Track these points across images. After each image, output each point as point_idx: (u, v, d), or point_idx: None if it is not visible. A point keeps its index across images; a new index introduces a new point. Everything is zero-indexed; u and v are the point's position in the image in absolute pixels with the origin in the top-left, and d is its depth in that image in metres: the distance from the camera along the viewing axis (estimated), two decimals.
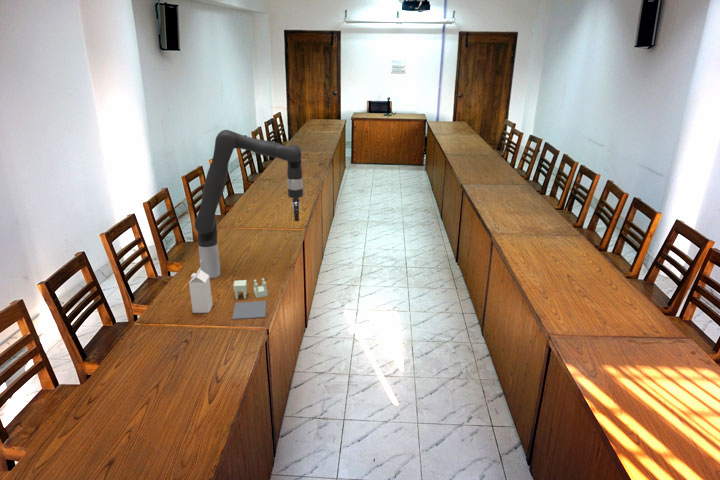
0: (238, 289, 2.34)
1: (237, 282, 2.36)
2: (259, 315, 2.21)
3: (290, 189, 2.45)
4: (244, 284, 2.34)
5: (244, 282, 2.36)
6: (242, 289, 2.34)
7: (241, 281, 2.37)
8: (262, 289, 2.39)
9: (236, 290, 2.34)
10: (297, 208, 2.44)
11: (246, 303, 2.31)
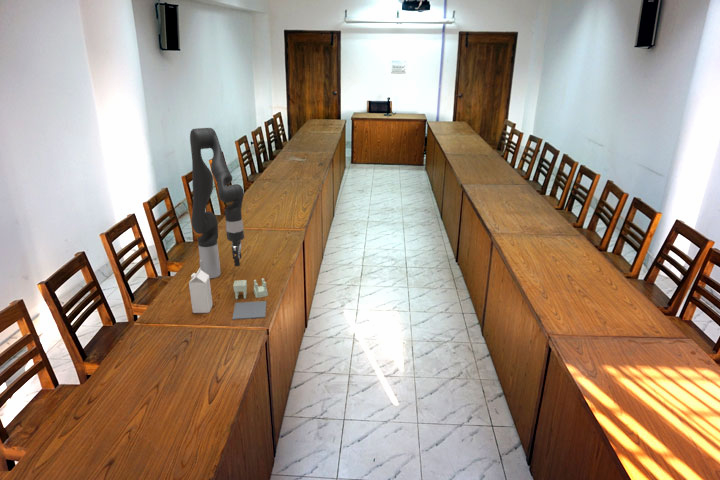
0: (238, 289, 2.34)
1: (237, 282, 2.36)
2: (259, 315, 2.21)
3: (228, 232, 2.23)
4: (244, 284, 2.34)
5: (244, 282, 2.36)
6: (242, 289, 2.34)
7: (241, 281, 2.37)
8: (262, 289, 2.39)
9: (236, 290, 2.34)
10: (236, 253, 2.23)
11: (246, 303, 2.31)
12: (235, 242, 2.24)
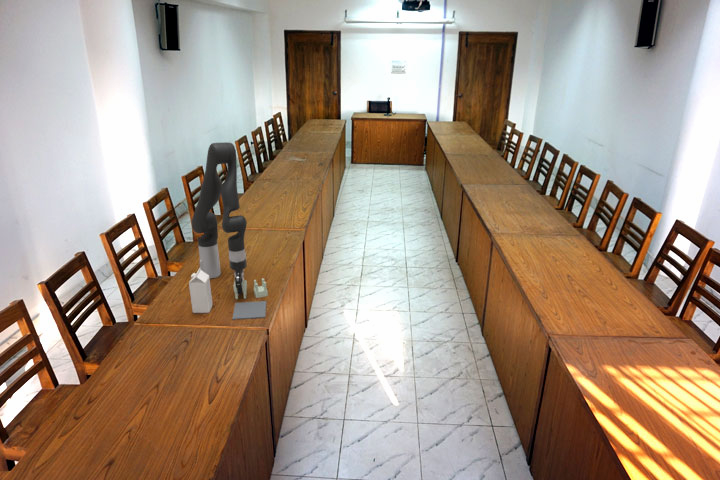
0: None
1: None
2: (259, 315, 2.21)
3: (231, 261, 2.28)
4: (244, 284, 2.34)
5: (244, 282, 2.36)
6: (242, 289, 2.34)
7: None
8: (262, 289, 2.39)
9: (236, 290, 2.34)
10: (239, 283, 2.29)
11: (246, 303, 2.31)
12: (238, 271, 2.29)
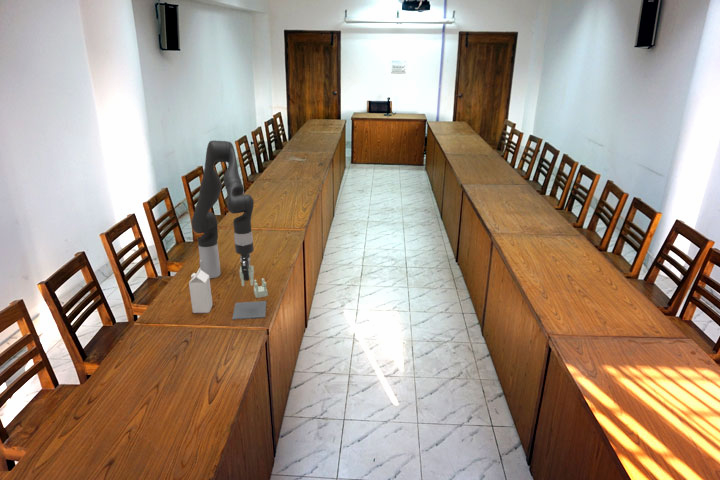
0: None
1: None
2: (259, 315, 2.21)
3: (237, 244, 2.11)
4: (251, 270, 2.17)
5: (251, 268, 2.19)
6: (249, 275, 2.17)
7: None
8: (262, 289, 2.39)
9: (242, 276, 2.17)
10: (245, 268, 2.11)
11: (246, 303, 2.31)
12: (244, 255, 2.12)
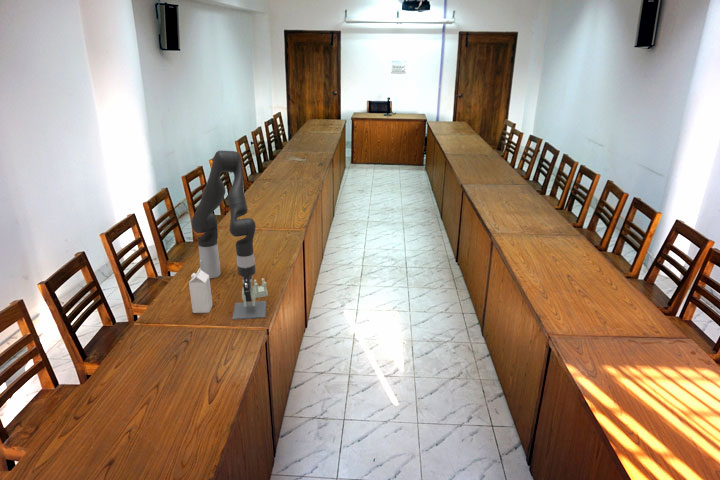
0: None
1: None
2: (259, 315, 2.21)
3: (239, 267, 2.15)
4: (253, 291, 2.21)
5: (253, 289, 2.23)
6: (251, 296, 2.21)
7: None
8: (262, 289, 2.39)
9: (244, 297, 2.20)
10: (248, 289, 2.15)
11: (246, 303, 2.31)
12: (246, 277, 2.16)
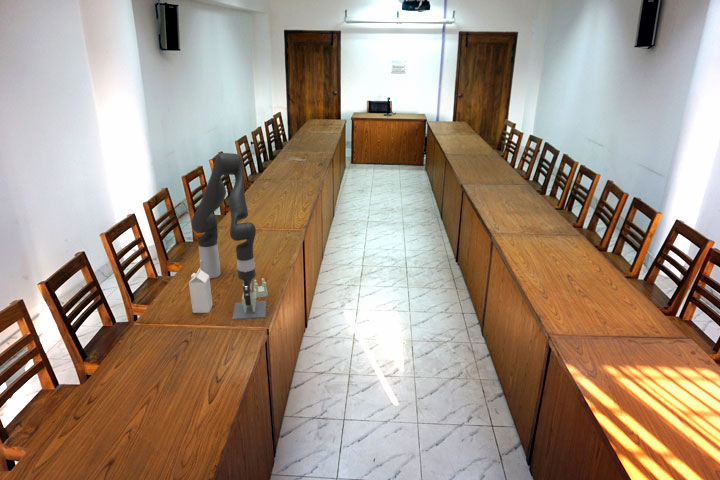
0: None
1: None
2: (259, 315, 2.21)
3: (239, 271, 2.15)
4: (253, 297, 2.22)
5: (253, 294, 2.24)
6: (251, 302, 2.22)
7: (250, 293, 2.25)
8: (262, 289, 2.39)
9: (245, 303, 2.22)
10: (247, 292, 2.15)
11: None
12: (246, 281, 2.16)
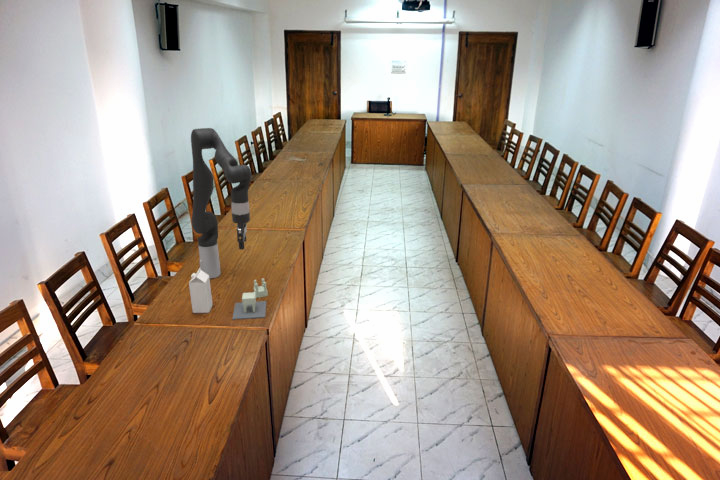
0: (247, 302, 2.21)
1: (245, 294, 2.24)
2: (259, 315, 2.21)
3: (234, 214, 2.16)
4: (253, 297, 2.22)
5: (253, 294, 2.24)
6: (251, 302, 2.22)
7: (250, 293, 2.25)
8: (262, 289, 2.39)
9: (245, 303, 2.22)
10: (241, 235, 2.16)
11: None
12: (240, 224, 2.17)
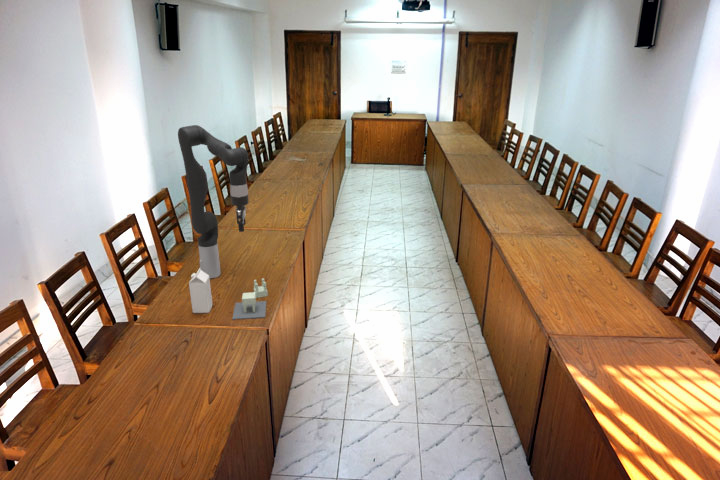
0: (247, 302, 2.21)
1: (245, 294, 2.24)
2: (259, 315, 2.21)
3: (233, 196, 2.20)
4: (253, 297, 2.22)
5: (253, 294, 2.24)
6: (251, 302, 2.22)
7: (250, 293, 2.25)
8: (262, 289, 2.39)
9: (245, 303, 2.22)
10: (240, 217, 2.20)
11: None
12: (239, 207, 2.21)
